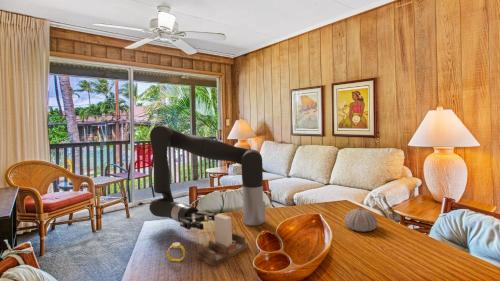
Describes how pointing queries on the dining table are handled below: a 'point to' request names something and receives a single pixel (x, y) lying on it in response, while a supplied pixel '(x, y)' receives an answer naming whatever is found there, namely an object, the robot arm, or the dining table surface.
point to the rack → (221, 250)
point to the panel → (223, 230)
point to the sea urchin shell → (360, 220)
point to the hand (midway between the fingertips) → (211, 223)
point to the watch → (176, 245)
